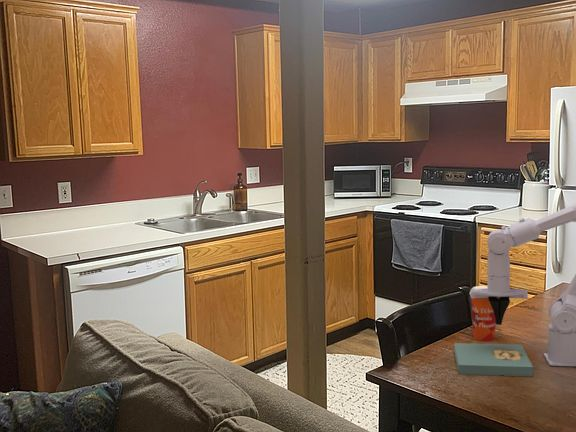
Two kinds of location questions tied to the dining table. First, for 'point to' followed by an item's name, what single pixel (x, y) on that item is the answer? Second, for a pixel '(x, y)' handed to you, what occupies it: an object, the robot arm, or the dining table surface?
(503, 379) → the dining table surface
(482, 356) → the hole board
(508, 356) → the maple ball
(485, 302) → the coffee cup
